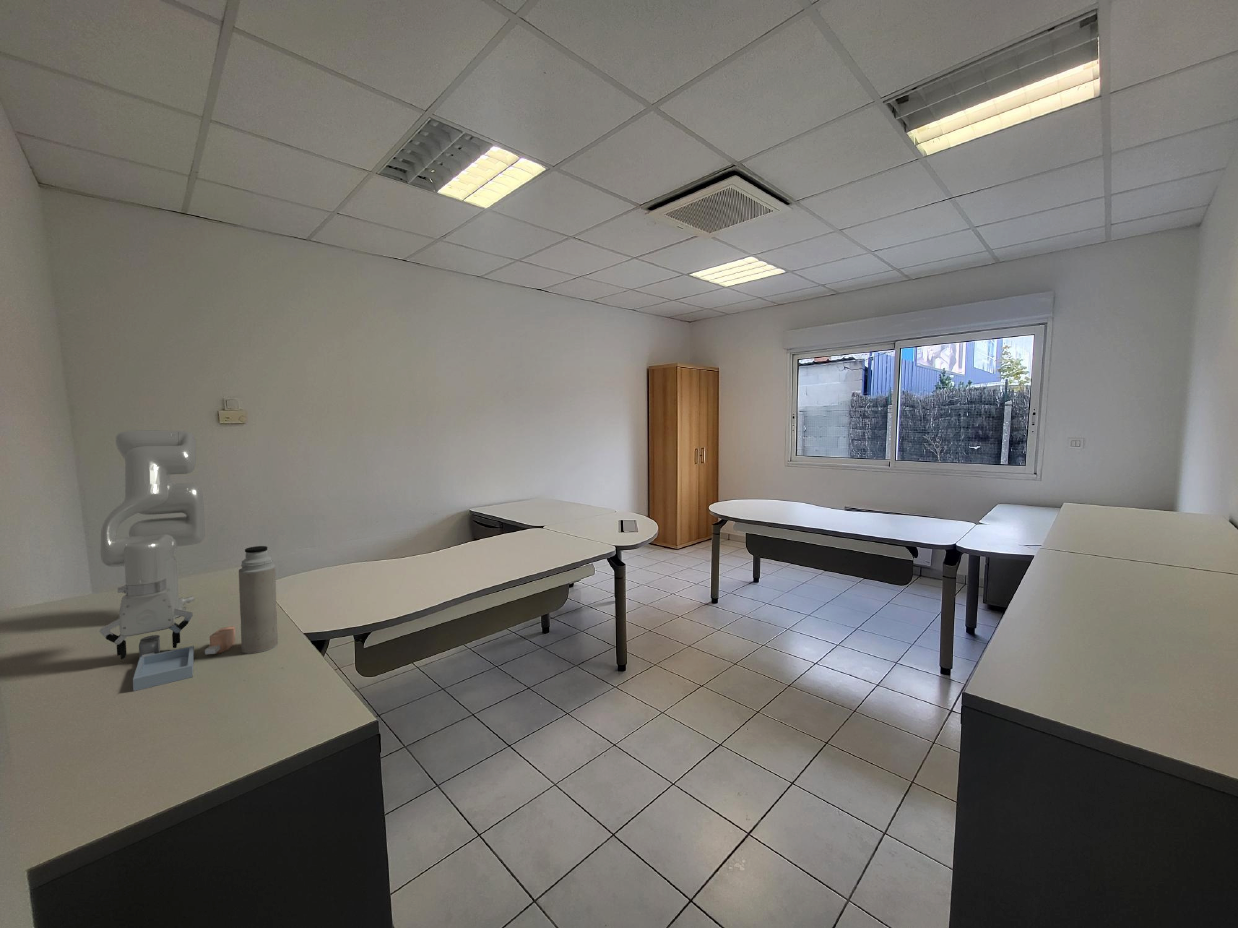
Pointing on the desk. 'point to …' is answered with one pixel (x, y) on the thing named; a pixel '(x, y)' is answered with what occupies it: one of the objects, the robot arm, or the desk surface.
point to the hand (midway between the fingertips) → (150, 651)
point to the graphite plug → (149, 645)
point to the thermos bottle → (258, 601)
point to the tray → (164, 668)
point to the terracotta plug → (221, 640)
